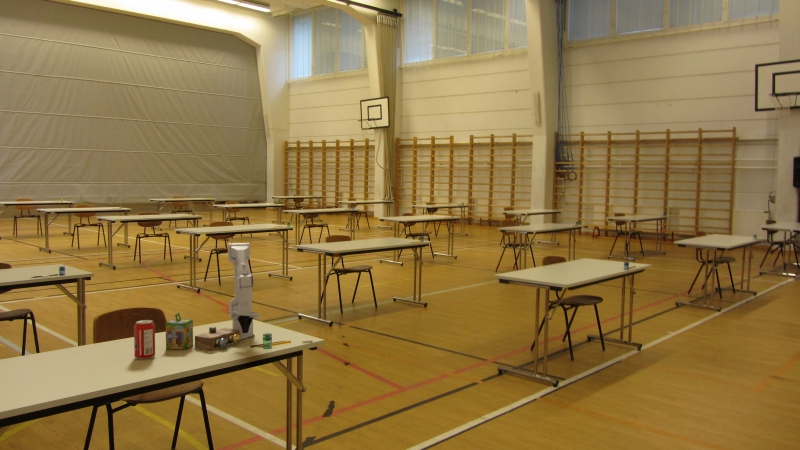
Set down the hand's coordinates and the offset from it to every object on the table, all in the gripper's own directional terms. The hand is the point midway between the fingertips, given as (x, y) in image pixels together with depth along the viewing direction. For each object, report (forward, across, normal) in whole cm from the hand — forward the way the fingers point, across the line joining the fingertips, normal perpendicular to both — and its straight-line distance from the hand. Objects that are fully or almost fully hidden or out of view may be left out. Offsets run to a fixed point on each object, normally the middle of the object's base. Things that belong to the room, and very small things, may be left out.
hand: (245, 332), depth 268 cm
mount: (+6, -12, -4) cm, 14 cm away
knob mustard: (+5, -10, 0) cm, 11 cm away
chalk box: (+6, -24, -15) cm, 29 cm away
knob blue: (+5, -10, -8) cm, 14 cm away
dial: (+1, -15, -4) cm, 16 cm away
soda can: (+6, -23, -34) cm, 42 cm away
